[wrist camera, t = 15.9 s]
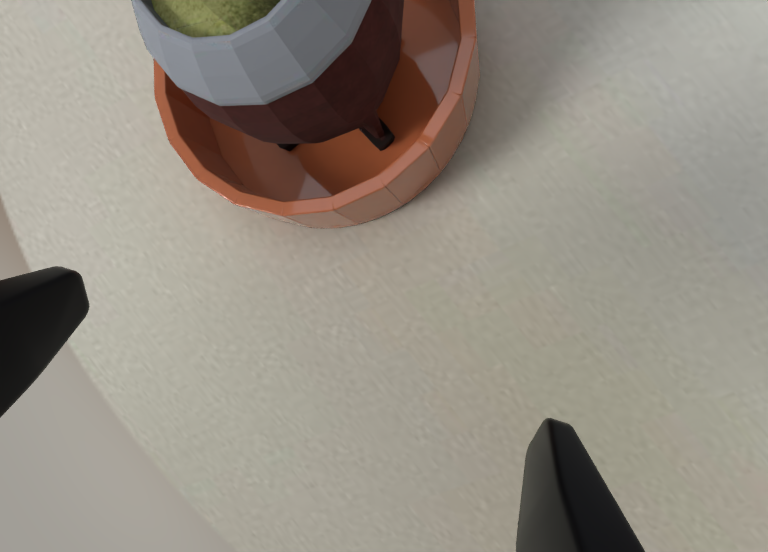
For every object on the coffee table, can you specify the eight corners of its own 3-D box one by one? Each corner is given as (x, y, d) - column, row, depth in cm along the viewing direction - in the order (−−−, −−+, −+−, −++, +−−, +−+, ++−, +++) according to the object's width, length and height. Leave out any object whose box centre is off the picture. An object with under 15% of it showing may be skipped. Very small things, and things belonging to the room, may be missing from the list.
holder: (210, 240, 20) (157, 229, 17) (202, -20, 20) (149, -78, 17) (489, 213, 17) (487, 193, 14) (468, -87, 18) (462, -168, 15)
